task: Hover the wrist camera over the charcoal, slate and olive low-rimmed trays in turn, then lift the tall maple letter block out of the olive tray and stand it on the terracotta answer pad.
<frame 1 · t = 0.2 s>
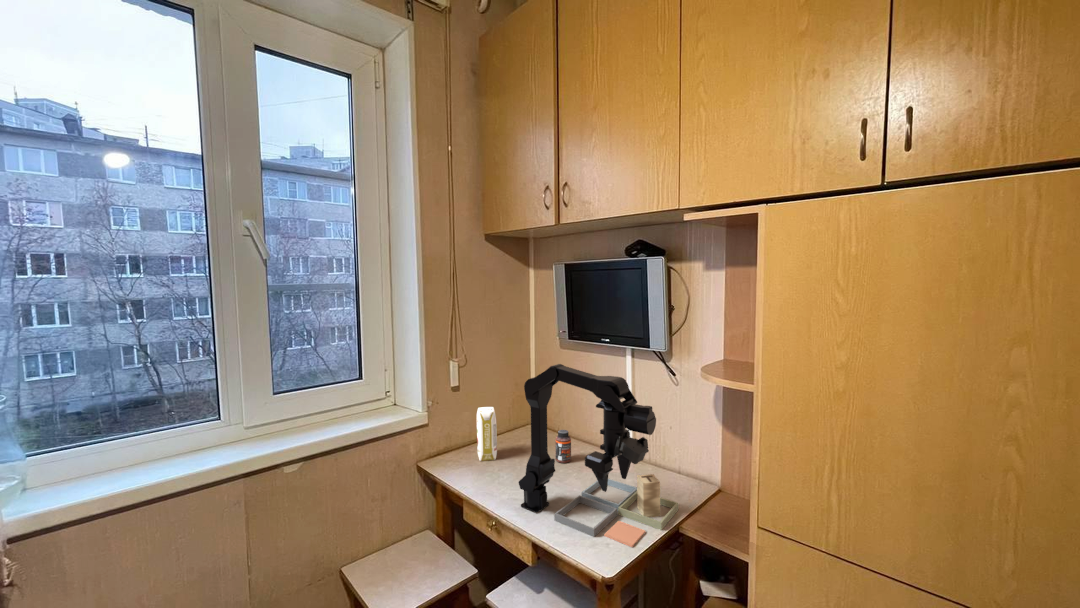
hand: (614, 484, 109), 14 cm above the table, fingers open, 9 cm apart
tray slate: (610, 496, 131), on the table
letter block: (648, 495, 121), in the tray olive
tray olive: (648, 512, 122), on the table
answer pad: (625, 534, 111), on the table
supplement bottle: (563, 460, 159), on the table
tray charcoal: (586, 517, 119), on the table
juice carton: (487, 457, 163), on the table
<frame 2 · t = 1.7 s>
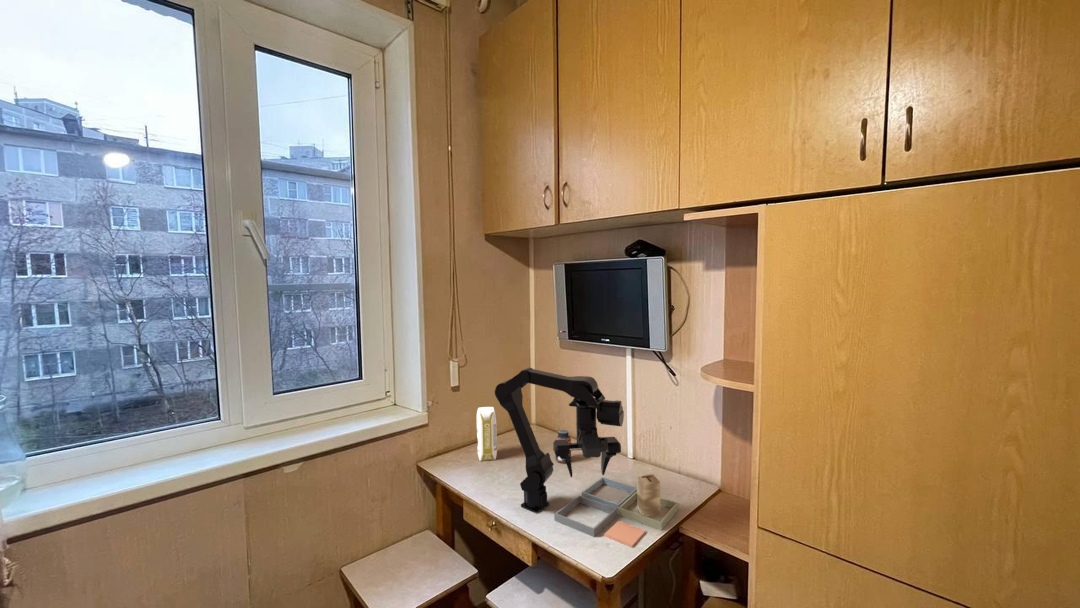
hand: (587, 475, 119), 12 cm above the table, fingers open, 9 cm apart
nothing on the table moved.
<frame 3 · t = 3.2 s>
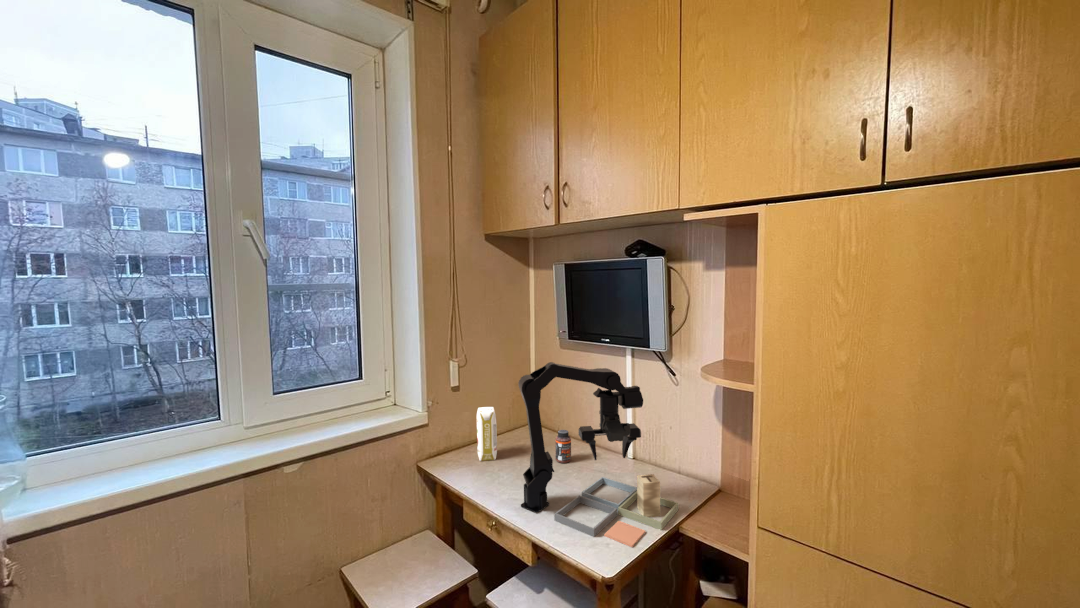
hand: (609, 458, 131), 12 cm above the table, fingers open, 9 cm apart
nothing on the table moved.
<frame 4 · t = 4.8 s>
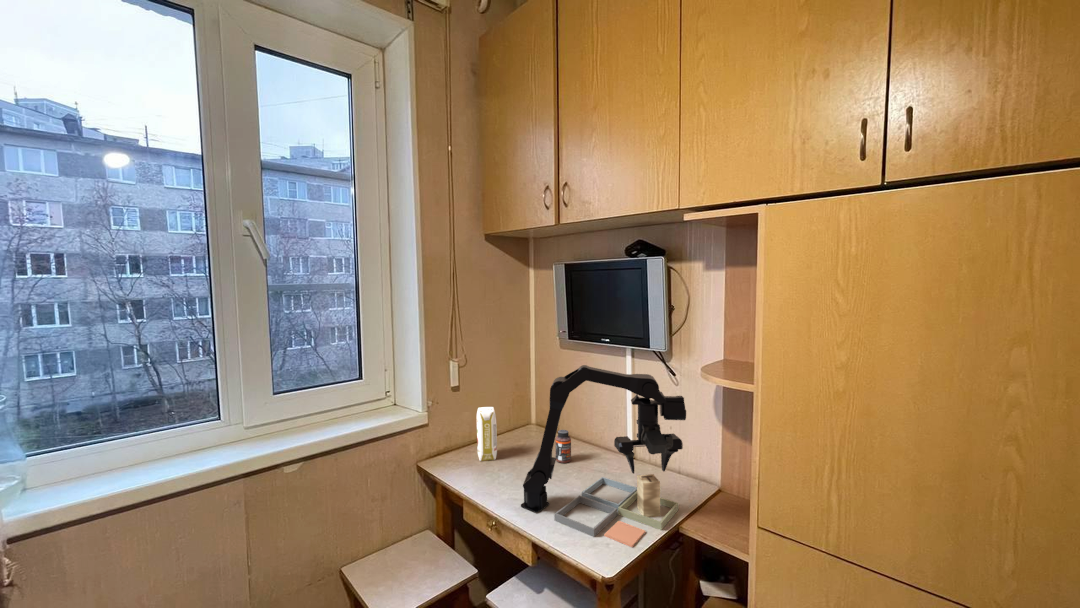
hand: (648, 471, 121), 12 cm above the table, fingers open, 9 cm apart
nothing on the table moved.
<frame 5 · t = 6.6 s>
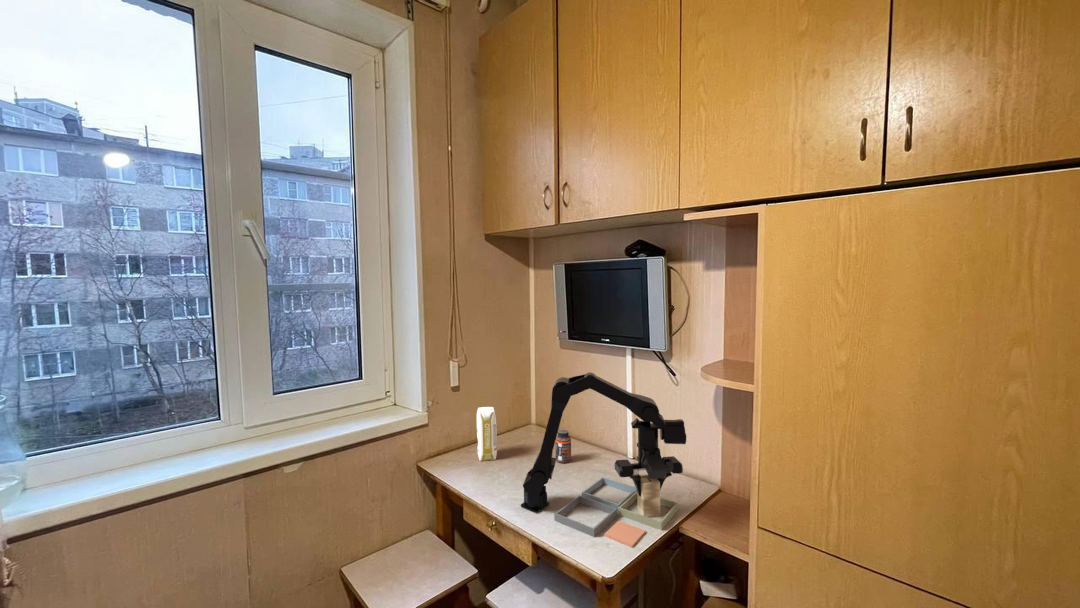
hand: (648, 495, 121), 5 cm above the table, fingers closed on letter block, 5 cm apart
letter block: (648, 495, 121), in the tray olive, touching gripper
everything else where it was.
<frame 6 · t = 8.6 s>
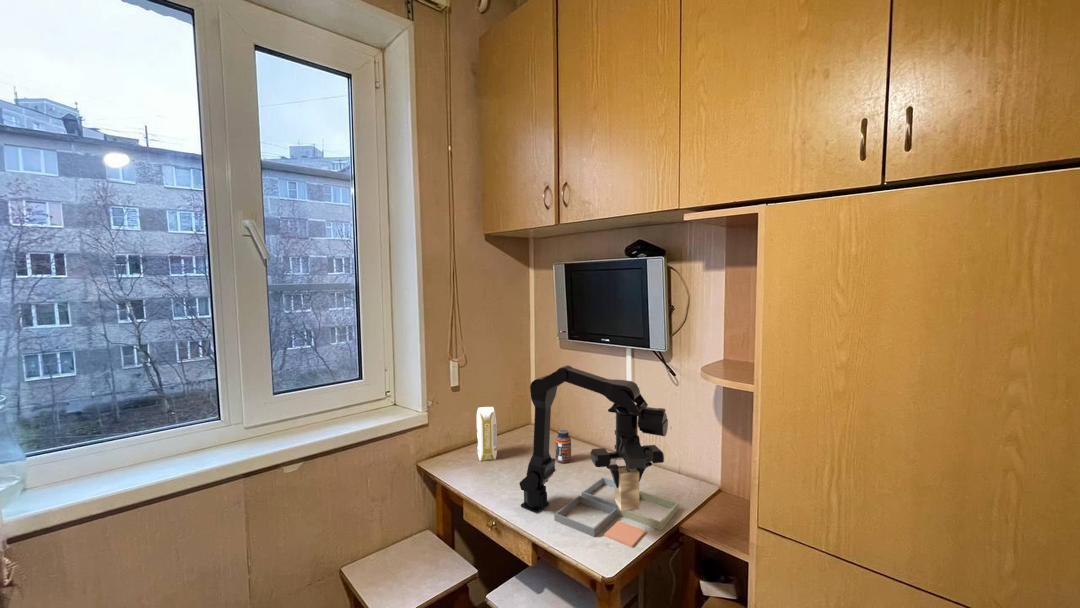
hand: (626, 486, 112), 12 cm above the table, fingers closed on letter block, 5 cm apart
letter block: (626, 486, 112), point 12 cm above the table, touching gripper
everything else where it was.
when the fingers open (7 cm above the table, at t = 10.5 s): letter block drops 1 cm, resting on answer pad.
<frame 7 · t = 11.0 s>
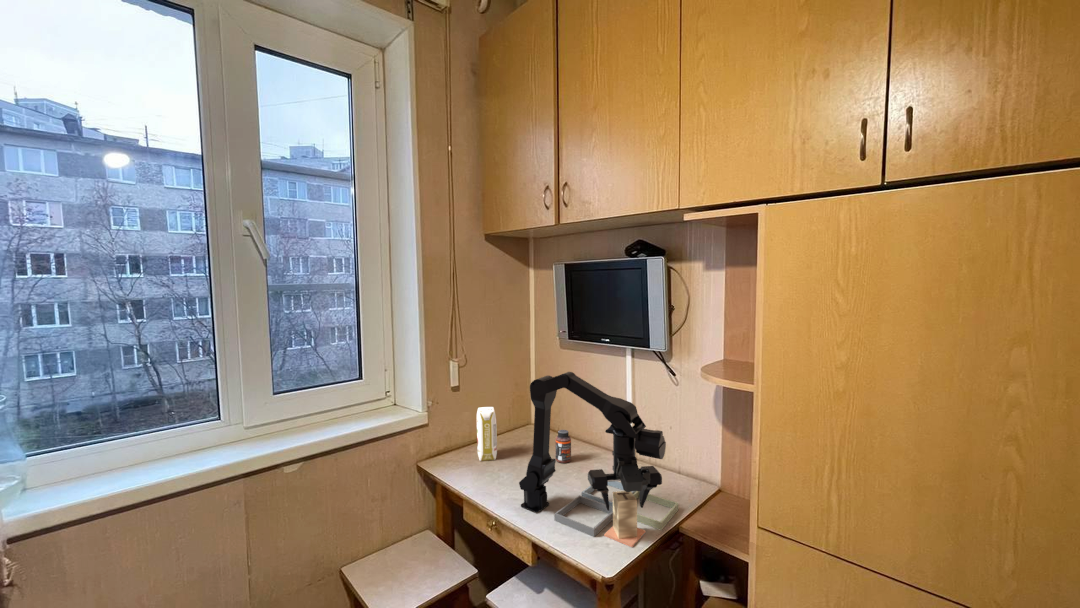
hand: (624, 508, 111), 7 cm above the table, fingers open, 9 cm apart
letter block: (624, 513, 111), on the answer pad
everything else where it was.
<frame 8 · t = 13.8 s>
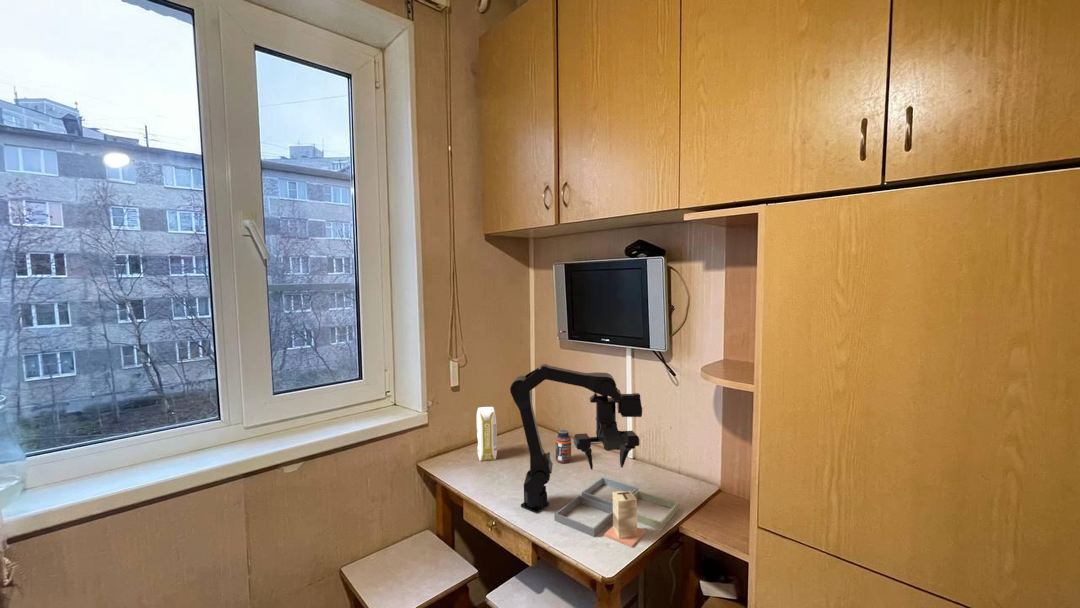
hand: (606, 468, 124), 12 cm above the table, fingers open, 9 cm apart
nothing on the table moved.
at the end: letter block 0.0 cm off-centre on the answer pad, point 5.5 cm above the answer pad's base; letter block tilted 0°; the gripper is holding nothing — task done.
